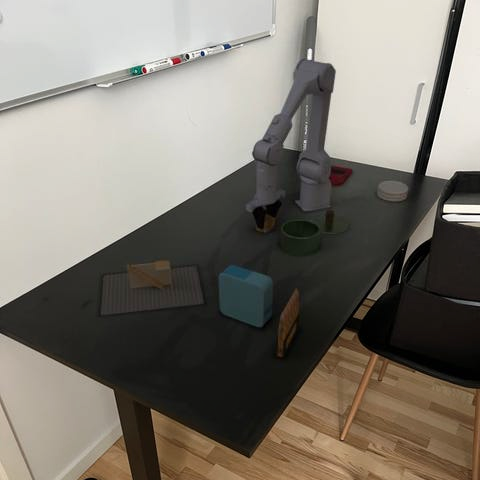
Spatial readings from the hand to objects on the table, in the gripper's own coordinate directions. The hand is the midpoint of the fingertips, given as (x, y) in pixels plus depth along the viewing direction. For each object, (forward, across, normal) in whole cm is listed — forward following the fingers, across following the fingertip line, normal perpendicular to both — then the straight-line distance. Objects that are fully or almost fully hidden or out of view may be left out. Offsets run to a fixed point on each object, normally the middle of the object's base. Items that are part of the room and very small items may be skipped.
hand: (265, 225), depth 152 cm
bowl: (+1, 0, +13) cm, 13 cm away
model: (+2, +43, +1) cm, 43 cm away
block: (+1, 0, 0) cm, 1 cm away
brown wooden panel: (+2, +34, +39) cm, 52 cm away
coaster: (+2, -47, +14) cm, 50 cm away
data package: (+2, +34, +26) cm, 43 cm away
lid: (+1, -15, +13) cm, 20 cm away
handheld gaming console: (+2, -46, -9) cm, 47 cm away
